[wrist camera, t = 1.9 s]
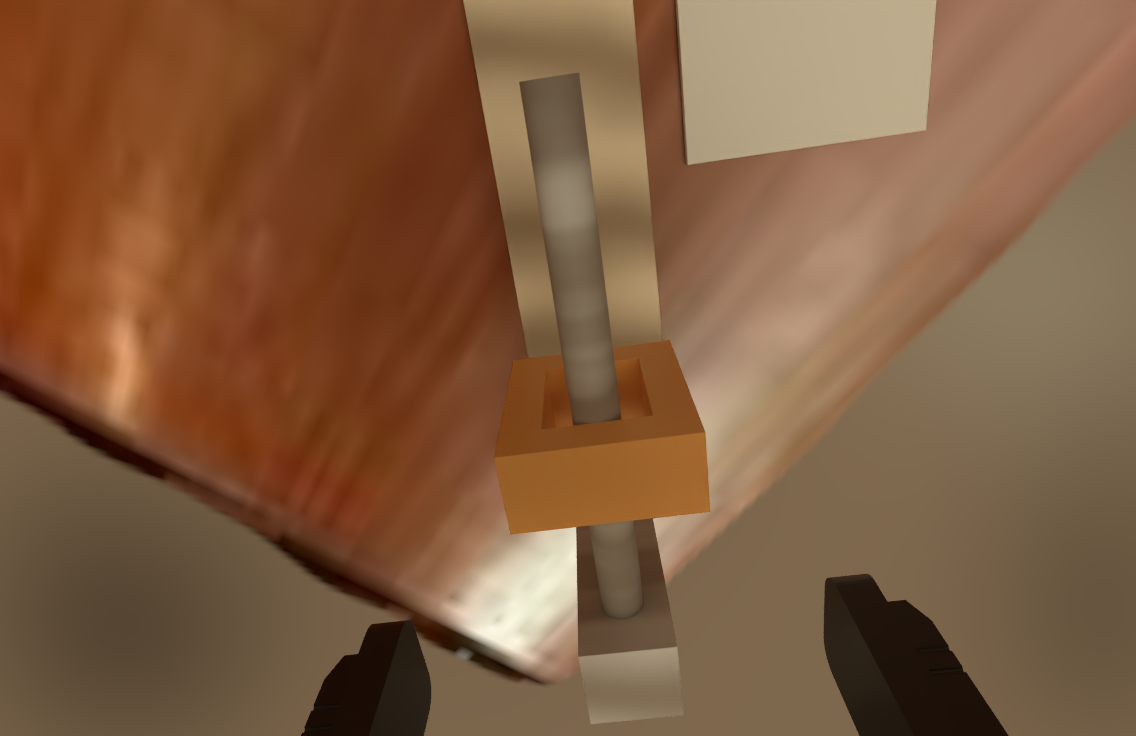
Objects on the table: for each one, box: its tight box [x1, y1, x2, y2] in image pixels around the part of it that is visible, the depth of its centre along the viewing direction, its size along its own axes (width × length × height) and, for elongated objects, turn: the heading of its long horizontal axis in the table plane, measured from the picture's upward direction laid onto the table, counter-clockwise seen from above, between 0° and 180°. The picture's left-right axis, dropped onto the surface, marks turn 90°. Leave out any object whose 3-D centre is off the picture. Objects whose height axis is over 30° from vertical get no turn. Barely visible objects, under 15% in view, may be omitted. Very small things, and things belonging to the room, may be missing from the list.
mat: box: [675, 0, 936, 165], centre depth 28 cm, size 11×11×1 cm
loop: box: [494, 340, 710, 534], centre depth 20 cm, size 6×2×6 cm, turn 98°
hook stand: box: [463, 0, 684, 724], centre depth 24 cm, size 24×7×18 cm, turn 8°
